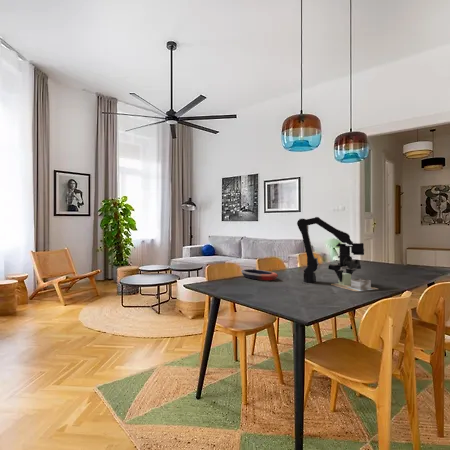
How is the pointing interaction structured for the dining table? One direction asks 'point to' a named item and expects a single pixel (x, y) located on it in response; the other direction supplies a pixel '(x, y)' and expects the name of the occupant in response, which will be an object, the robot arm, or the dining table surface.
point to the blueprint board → (357, 285)
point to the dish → (259, 274)
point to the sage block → (345, 279)
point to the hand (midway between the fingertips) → (344, 281)
